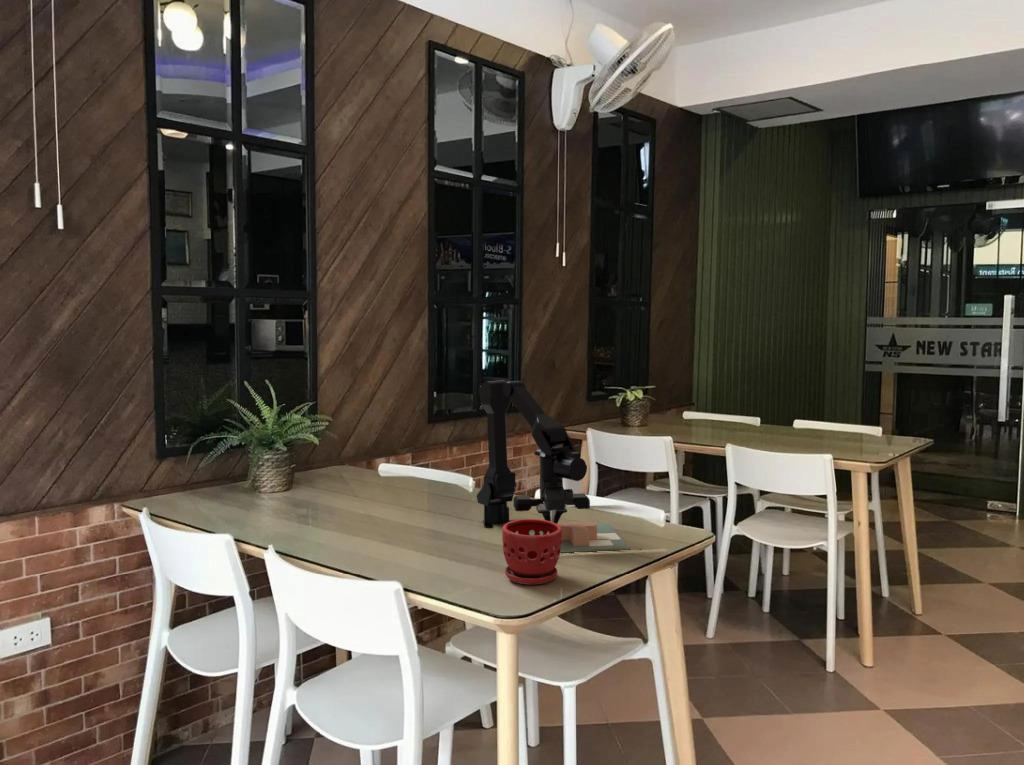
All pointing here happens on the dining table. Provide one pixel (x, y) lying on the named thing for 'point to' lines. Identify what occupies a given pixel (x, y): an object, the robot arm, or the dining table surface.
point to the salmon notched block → (579, 532)
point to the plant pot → (531, 550)
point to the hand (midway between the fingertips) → (551, 535)
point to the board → (596, 540)
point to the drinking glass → (572, 486)
